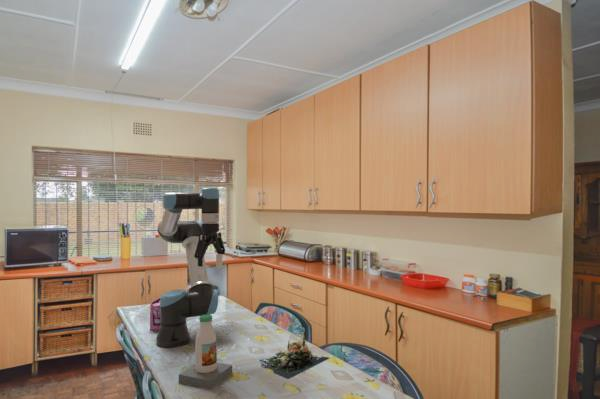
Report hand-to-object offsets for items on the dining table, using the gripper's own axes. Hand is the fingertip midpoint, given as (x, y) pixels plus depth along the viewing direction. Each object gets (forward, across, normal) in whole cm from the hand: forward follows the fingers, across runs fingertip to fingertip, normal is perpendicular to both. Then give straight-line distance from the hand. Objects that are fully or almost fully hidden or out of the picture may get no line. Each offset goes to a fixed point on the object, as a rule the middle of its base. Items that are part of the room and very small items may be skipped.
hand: (210, 271), depth 176 cm
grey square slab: (+35, -24, -14) cm, 44 cm away
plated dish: (+36, +3, -38) cm, 52 cm away
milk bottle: (+32, -24, -14) cm, 42 cm away
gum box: (+35, +23, +44) cm, 61 cm away
